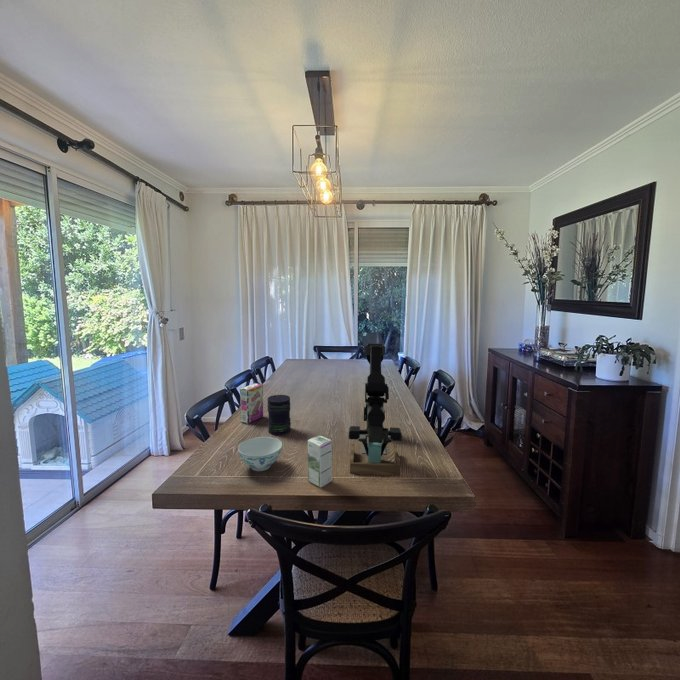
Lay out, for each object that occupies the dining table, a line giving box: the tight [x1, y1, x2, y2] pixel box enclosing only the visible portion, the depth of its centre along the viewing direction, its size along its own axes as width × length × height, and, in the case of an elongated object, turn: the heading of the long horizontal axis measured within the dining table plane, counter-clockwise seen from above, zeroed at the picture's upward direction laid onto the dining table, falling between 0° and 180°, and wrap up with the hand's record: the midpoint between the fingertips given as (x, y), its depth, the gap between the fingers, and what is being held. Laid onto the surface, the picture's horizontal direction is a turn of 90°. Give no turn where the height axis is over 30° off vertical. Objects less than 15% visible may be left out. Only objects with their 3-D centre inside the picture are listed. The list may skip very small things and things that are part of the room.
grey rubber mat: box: [361, 442, 387, 456], centre depth 138 cm, size 9×9×1 cm
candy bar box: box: [239, 382, 264, 425], centre depth 167 cm, size 11×5×16 cm, turn 154°
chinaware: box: [237, 436, 283, 472], centre depth 124 cm, size 15×15×8 cm
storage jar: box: [267, 394, 292, 436], centre depth 154 cm, size 10×10×15 cm
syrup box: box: [307, 434, 333, 489], centre depth 114 cm, size 6×6×14 cm
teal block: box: [367, 440, 382, 463], centre depth 128 cm, size 4×4×6 cm
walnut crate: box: [349, 443, 401, 476], centre depth 127 cm, size 15×17×4 cm
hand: (374, 455), depth 128 cm, fingers closed on teal block, 4 cm apart
